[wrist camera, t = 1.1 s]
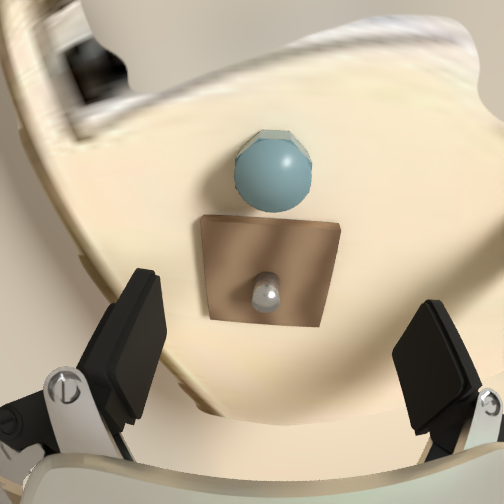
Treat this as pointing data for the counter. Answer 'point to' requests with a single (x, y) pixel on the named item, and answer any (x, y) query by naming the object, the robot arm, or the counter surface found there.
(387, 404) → the counter surface
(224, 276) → the brown flat square piece
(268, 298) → the post
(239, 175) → the cap
